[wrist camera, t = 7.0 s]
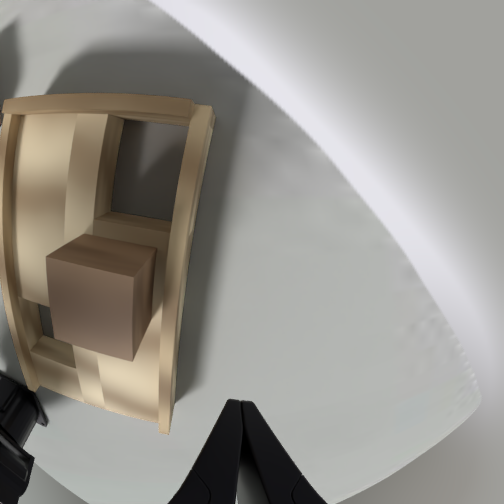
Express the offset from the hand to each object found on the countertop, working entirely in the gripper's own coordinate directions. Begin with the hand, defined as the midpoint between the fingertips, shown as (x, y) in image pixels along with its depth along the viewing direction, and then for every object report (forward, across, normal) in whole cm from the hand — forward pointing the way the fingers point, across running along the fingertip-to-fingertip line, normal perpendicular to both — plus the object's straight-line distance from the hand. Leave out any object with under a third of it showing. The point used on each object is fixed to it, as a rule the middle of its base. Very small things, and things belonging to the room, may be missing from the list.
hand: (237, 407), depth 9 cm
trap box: (+10, +10, +1) cm, 14 cm away
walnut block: (+8, +7, 0) cm, 10 cm away
